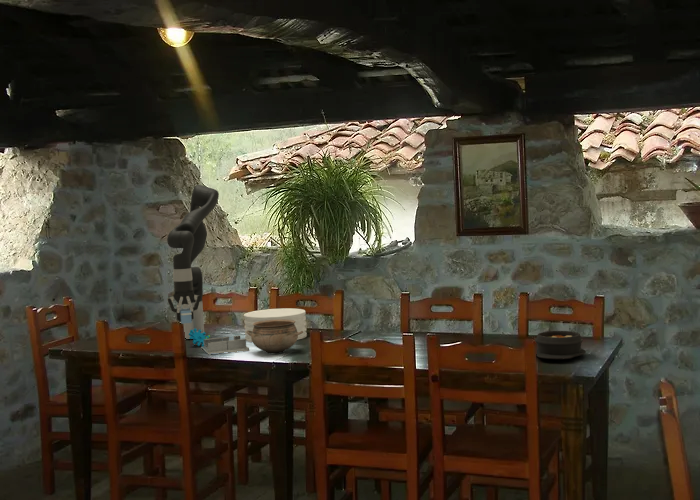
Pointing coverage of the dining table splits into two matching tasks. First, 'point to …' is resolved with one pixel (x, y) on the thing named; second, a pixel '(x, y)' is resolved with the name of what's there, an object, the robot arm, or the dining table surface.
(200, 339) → the gear
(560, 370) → the dining table surface
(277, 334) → the cooking pot
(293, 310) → the plate stack
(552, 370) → the dining table surface
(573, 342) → the casserole
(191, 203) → the robot arm
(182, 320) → the block
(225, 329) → the dining table surface
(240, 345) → the plate
